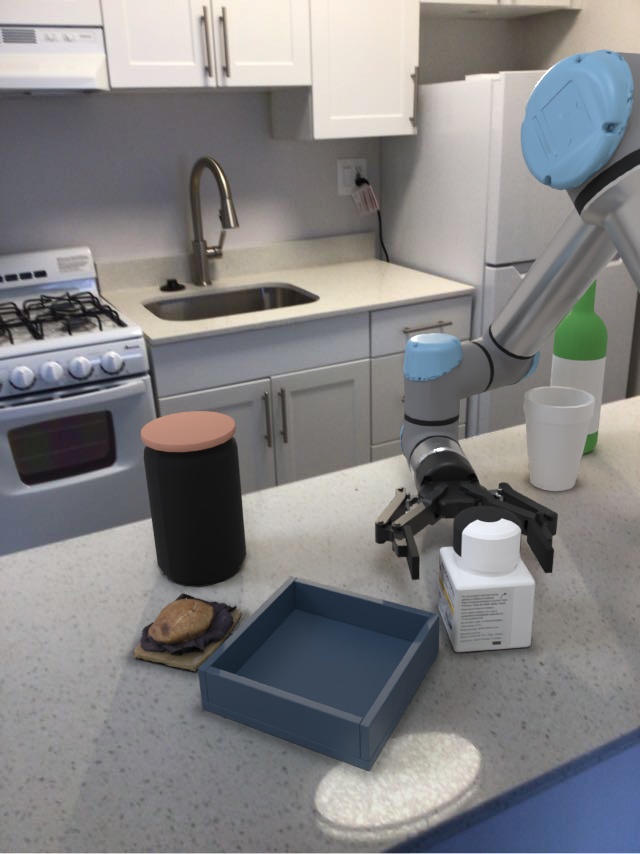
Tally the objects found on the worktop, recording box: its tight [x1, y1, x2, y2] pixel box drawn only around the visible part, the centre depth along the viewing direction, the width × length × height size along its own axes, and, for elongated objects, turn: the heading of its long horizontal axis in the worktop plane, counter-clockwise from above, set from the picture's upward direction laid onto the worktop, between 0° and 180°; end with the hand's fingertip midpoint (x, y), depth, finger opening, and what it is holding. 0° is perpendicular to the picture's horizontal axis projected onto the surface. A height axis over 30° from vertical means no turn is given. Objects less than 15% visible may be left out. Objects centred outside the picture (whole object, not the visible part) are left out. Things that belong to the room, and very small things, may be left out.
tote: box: [197, 575, 441, 772], centre depth 71 cm, size 17×17×4 cm
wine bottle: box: [549, 277, 609, 455], centre depth 116 cm, size 8×8×30 cm
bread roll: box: [132, 593, 242, 672], centre depth 78 cm, size 11×8×4 cm
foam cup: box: [522, 385, 595, 492], centre depth 107 cm, size 10×9×13 cm
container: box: [438, 506, 536, 653], centre depth 76 cm, size 8×8×13 cm
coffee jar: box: [140, 410, 247, 587], centre depth 88 cm, size 11×11×18 cm
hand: (482, 565), depth 76 cm, fingers open, 13 cm apart
